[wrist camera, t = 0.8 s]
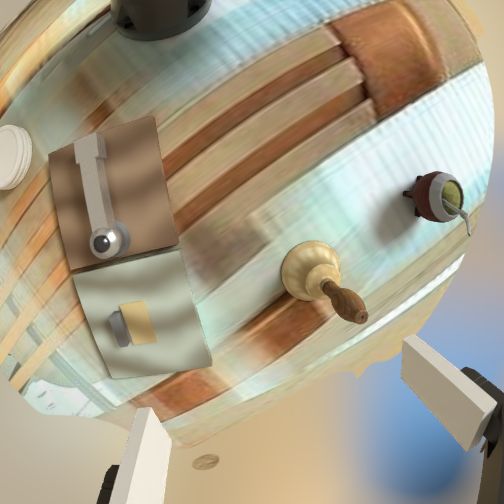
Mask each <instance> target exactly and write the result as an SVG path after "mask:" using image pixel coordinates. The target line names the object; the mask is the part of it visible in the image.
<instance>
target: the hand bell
mask: <svg viewBox="0 0 504 504" xmlns="http://www.w3.org/2000/svg"><path fill="white" fill-rule="evenodd" d="M281 276H282V281H283V285H284V287H285V288H286V290H287V291H288V292H289V293H290V294H291V295H292V296H294V297H295V298H297V299H300V300H304V301H312V300H317V299H318V300H325V299H328V298H330V299H331V302H332V306H333V308H334V309H335V311H336V312H337V314H338V315H339V316H340V317H341V318H343V319H344V320H347V321H350V322H355V323H357V324H363V323H365V322H366V321H367V319H368V313H367V311H366V308H365V305H364V302H363V301H362V299H361V298H360V297H359V296H358V295H357V294H356V293H355V292H353V291H351V290H349V289H345V288H340V283H341V277H340V262H339V258H338V256H337V254H336V252H335V251H334V250H333V249H332V248H331V247H330V246H329V245H327V244H325V243H323V242H320V241H306V242H303V243H301V244H299V245H297V246H295V247H294V248H293V249H292V250H291V251H290V252H289V253H288V254H287V256H286V257H285V259H284V262H283V265H282V271H281Z"/></svg>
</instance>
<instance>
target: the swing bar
mask: <svg viewBox="0 0 504 504" xmlns="http://www.w3.org/2000/svg"><path fill="white" fill-rule="evenodd" d="M74 150H75V158H76V164H78V165H80V169H81V175H82V182H83V188H84V193H85V199H86V204H87V209H88V214H89V219H90V223H91V228H92V232H93V233H92V235H91V237H90V248H91V250H92V252H93V254H94V255H95V256H97V257H98V258H101V259H107V258H110V257H111V256H113V255H115V254H117V253H119V252H120V251H121V250H122V249H123V247H124V245H125V236H124V233H123V231H122V230H121V229H120V228H119V227H117V226H116V222H115V218H114V213H113V209H112V204H111V199H110V194H109V188H108V183H107V177H106V171H105V165H104V159H107V154H106V147H105V139H104V136H103V135H101V134H99V133H97V132H94V133H92V134H89V135H87V136H84V137H82V138H79V139H77V140H75V141H74Z"/></svg>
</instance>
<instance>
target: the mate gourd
mask: <svg viewBox="0 0 504 504" xmlns="http://www.w3.org/2000/svg"><path fill="white" fill-rule="evenodd" d="M403 196H406V197H411V198H413V199H414V203H415V205H416V208H415V216H417V217H420V216H422V217H423V218H425V219H427V220H430V221H433V222H440V223H444V222H449V221H451V220H453V219H455V218H456V217H457V216H458V215H459V214H460V216H461V217H462V218H463V219H465V221H466V225H467V232H468V235H469V236H471V232H470V220H469V217H468V214H467V213H466V212H465V211H463V210H462V207H463V204H464V194H463V189H462V187H461V185H460V183H459V182H458V181H457V180H456V179H455V178H454V177H453V176H452V175H451V174H447V173H443V172H439V171H436V172H432V173H429V174H426V175H424V176H423V177H422V176H417V184H416V186H415V188H414V190H413V192H410V191H403Z"/></svg>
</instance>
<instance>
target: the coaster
mask: <svg viewBox="0 0 504 504" xmlns="http://www.w3.org/2000/svg"><path fill="white" fill-rule="evenodd" d="M31 158H32V141H31V138H30V136H29V134H28V132H27V131H26V130H25V129H23V128H21V127H18V126H14V125H5V126H2V127H1V128H0V190H9V189H12V188H14V187H16V186H17V185H18V184H20V182H21V181H22V180H23V179H24V177H25V175H26V173H27V171H28V169H29V166H30V163H31Z"/></svg>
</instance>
